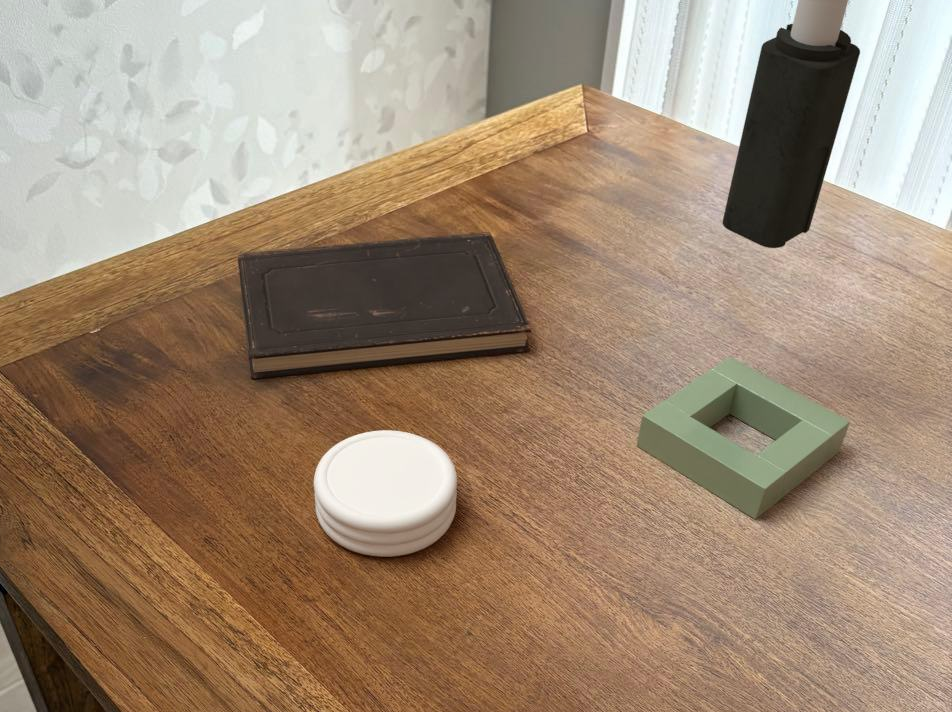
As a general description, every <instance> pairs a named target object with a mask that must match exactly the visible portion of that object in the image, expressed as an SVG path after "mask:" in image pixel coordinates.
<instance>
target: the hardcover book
mask: <svg viewBox="0 0 952 712" xmlns="http://www.w3.org/2000/svg"><path fill="white" fill-rule="evenodd" d="M236 257H237V265H238V272H239V275H238V276H239V283H240V293H241V302H242V310H243V320H244V329H245V337H246V338H245V339H246V347H247V353H248V354H247V355H248V362H249V372H250V379H251V380H255V379H263V378H275V377H285V376H293V375H294V376H295V375H303V374H312V373H313V374H314V373H324V372H325V373H326V372H335V371H343V370H354V369H365V368H375V367H386V366H394V365H407V364H414V363H415V364H416V363H424V362H434V361H445V360H446V361H447V360H454V359H456V360H457V359H464V358H465V359H466V358H475V357H485V356H496V355H507V354H515V353H524V352H525V353H526V352H530V347H529V344H528V342H527V340H528V335H527V333H532V328H531V326H530V324H529V321H528V318H527V316H526V314H525V311H524V309H523V307H522V304H521V302H520V300H519V296H518V295H517V293H516V289H515V288H514V286H513V283H512V280H511V279H510V275H509V273H508V270H507V268H506V266H505V263H504V262H503V259H502V257H501V254H500V251H499V249H498V246H497V245H496V242H495V240H494V237H493V235H492V233H491V232H490V231H483V232H472V233H471V232H470V233H460V234H447V235H446V234H445V235H438V236H437V235H436V236H435V235H434V236H424V237H412V238H401V239H390V240H389V239H388V240H378V241H367V242H355V243H343V244H331V245H318V246H308V247H296V248H285V249H284V248H283V249H273V250H272V249H271V250H262V251H260V250H259V251H250V252H239V253H237V256H236Z"/></svg>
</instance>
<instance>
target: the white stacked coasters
mask: <svg viewBox="0 0 952 712" xmlns="http://www.w3.org/2000/svg"><path fill="white" fill-rule="evenodd" d="M312 484H313V491H314V497H313V498H314V503H315V507H314V509H315V515H316V517H317V521H318V523H319V525H320V526H321V528H322V530H323V532H325V534H326V535H327V536H328V537H329V538H330V539H331V540H332V541H333V542H335V543H336V544H338V545H339V546H341V547H342V548H345V549H347V550H349V551H352V552H354V553H356V554H357V553H358V554H361V555H364V556H365V555H366V556H371V557H380V558H382V557H386V558H387V557H388V558H389V557H400V556H405V555H409V554H413V553H416V552H419V551H422V550H425V549H426V548H427V547H430V546H432V545H433V544H434V543H436V542H438V540H440V539H441V538H442V536H444V535H445V534H446V533H447V531H448V530H449V528H450V527H451V524H452V523H453V521H454V518H455V515H456V512H457V511H456V510H457V496H458V492H457V491H458V490H457V488H458V474H457V471H456V468H455V464H454V462H453V461H452V459H451V458H450V456H449V455H448V453H447V452H446V451H445V450H444V449H443V448H441V447H440V446H439V445H438V444H437V443H435V442H433V441H431V440H430V439H427V438H425V437H424V436H420V435H418V434H414V433H412V432H411V433H410V432H406V431H400V430H391V429H389V430H387V429H386V430H385V429H384V430H372V431H366V432H362V433H358V434H355V435H352V436H349V437H347V438H345V439H343V440H340V441H339V442H338V443H336V444H335V445H333V446H332V447H331V448H330V449H328V450H327V451H326V452H325V454H324V455H323V456H322V457H321V459H320V460H319V462H318V463H317V466H316V469H315V472H314V475H313V483H312Z"/></svg>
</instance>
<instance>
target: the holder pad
mask: <svg viewBox="0 0 952 712" xmlns="http://www.w3.org/2000/svg"><path fill="white" fill-rule="evenodd" d="M729 415H731V416H733V417H734V418H736V419H737V420H739V421H741V422H743V423H745V424H747V425H748V426H750V427H751V428H754V429H755V430H757V431H758V432H761V433H762V434H764V435H766V436H767V437H769V438H771V439H773V440H774V441H773V442H772V443H770V444H769V445H768V446H766V447H765V448H763V450H761V451H760V452H758V453H757V454H755V453H754V452H752V451H750V450H748V449H747V448H745V447H743V446H741V445H740V444H738V443H736V442H734V441H733V440H732V439H730V438H727V437H726V436H724V435H723V434H722V433H719V432H717V431H716V430H714V429H712V428H711V427H713V426H714V425H716V424H717V423H718V422H720V421H722V420H723V419H724V418H726V417H727V416H729ZM850 424H851V420H849V419H847V418H846V417H844V416H842V415H840V414H838V413H837V412H834V411H832V410H831V409H828V408H827V407H825V406H823V405H822V404H819V403H817V402H816V401H814V400H812V399H810V398H808V397H806V396H805V395H804V394H801V393H799V392H797V391H795V390H793V389H792V388H790V387H788V386H785V384H783V383H780V382H778V381H777V380H775V379H773V378H771V377H769V376H768V375H766V374H764V373H763V372H760V371H758V370H757V369H754V368H752V367H751V366H750V365H747V364H745V363H743V362H742V361H740V360H738V359H736V358H734V357H733V356H728V357H727V358H725V359H724V360H722V361H721V362H719V363H718V364H716V365H715V366H714V367H712V368H711V369H709V370H707V371H706V372H704V373H702V374H701V375H699V376H697V378H695V379H694V380H693V381H690V382H689V383H688V384H686V385H685V386H684V387H682V388H680V389H679V390H677V391H676V392H674V393H673V394H672V395H670V396H669V397H667V398H665V399H664V400H663V401H661V402H659V403H658V404H657V405H655V406H653V407H652V408H651V409H649V410H647V412H645V413H643V414H642V416H641V421H640V424H639V425H640V426H639V432H638V436H637V441H636V447H638V448H639V449H641V450H643V451H644V452H646V453H648V454H649V455H651V456H652V457H654V458H656V460H659V461H661V462H662V463H664V464H665V465H667V466H669V467H670V468H672V469H673V470H675V471H677V472H678V473H680V474H682V475H683V476H685V478H688V479H689V480H691V481H692V482H694V483H696V484H697V485H699V486H701V487H702V488H704V489H705V490H707V491H709V492H710V493H712V494H714V495H715V496H717V497H718V498H720V499H722V500H723V501H725V502H726V503H728V504H730V505H731V506H733V507H735V508H737V509H738V510H739V511H741V512H742V513H744V514H746V515H747V516H749V517H751V518H753V519H754V520H757V519H758V518H760V517H761V516H762V515H763V514H764V513H765V512H767V511H768V510H769V509H770V508H772V507H773V506H774V505H776V503H778V502H779V501H780V500H781V499H783V498H784V497H786V495H788V494H789V493H791V492H792V490H794V489H795V488H796V487H798V486H799V485H800V484H802V483H803V482H804V481H805V480H806V479H808V478H809V477H810V476H811V475H813V474H814V473H815V472H816V471H817V470H819V469H820V468H821V467H822V466H823V465H825V464H826V463H827V462H829V460H831V459H832V458H833V457H834V456H835V455H837V454H838V453H839V452H840V451H841V448H842V446H843V443H844V440H845V438H846V435H847V432H848V429H849V427H850Z"/></svg>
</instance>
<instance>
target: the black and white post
mask: <svg viewBox="0 0 952 712" xmlns="http://www.w3.org/2000/svg"><path fill="white" fill-rule="evenodd" d="M848 3H849V0H798V1H797V5H796V9H795V13H794V18H793V22H792V23H788V24H787V25H786V28H784V27H780V28H778V30H777V32H776V36H775V37H773V38H771V39H768V40H766V41H764V42H763V43H762V45H761V47H760V52H759V56H758V62H757V66H756V70H755V74H754V79H753V84H752V88H751V92H750V97H749V101H748V106H747V109H746V114H745V120H744V124H743V128H742V133H741V138H740V142H739V147H738V150H737V155H736V159H735V165H734V168H733V173H732V178H731V181H730V186H729V191H728V196H727V199H726V204H725V208H724V213H723V218H722V226H723V227H724V228H725V229H726V230H728V231H730V232H732V233H734V234H735V235H736V234H737V235H738V236H740V237H742V238H744V239H747V240H749V241H750V242H753V243H755V244H756V245H758V246H761V247H764V248H767V249H779V248H782V247H784V246H786V243H787V242H789V241H791V240H793V239H794V238H796V237H798V236H799V235H801V234H806V233H808V232H809V231H810V229H811V225H812V222H813V218H814V215H815V211H816V208H817V204H818V200H819V197H820V195H821V190H822V187H823V183H824V180H825V177H826V173H827V170H828V167H829V162H830V159H831V155H832V153H833V149H834V145H835V143H836V138H837V136H838V131H839V129H840V128H839V127H840V124H841V121H842V117H843V114H844V112H845V111H844V110H845V107H846V103H847V100H848V96H849V93H850V89H851V86H852V83H853V80H854V75H855V72H856V68H857V65H858V61H859V58H860V55H861V49H860V48H859V47H858V45H856V44H854V43H852V39H851V36H850V35H849V33H847V32H845V31H843V30H842V26H843V22H844V17H845V14H846V10H847V6H848Z"/></svg>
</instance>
